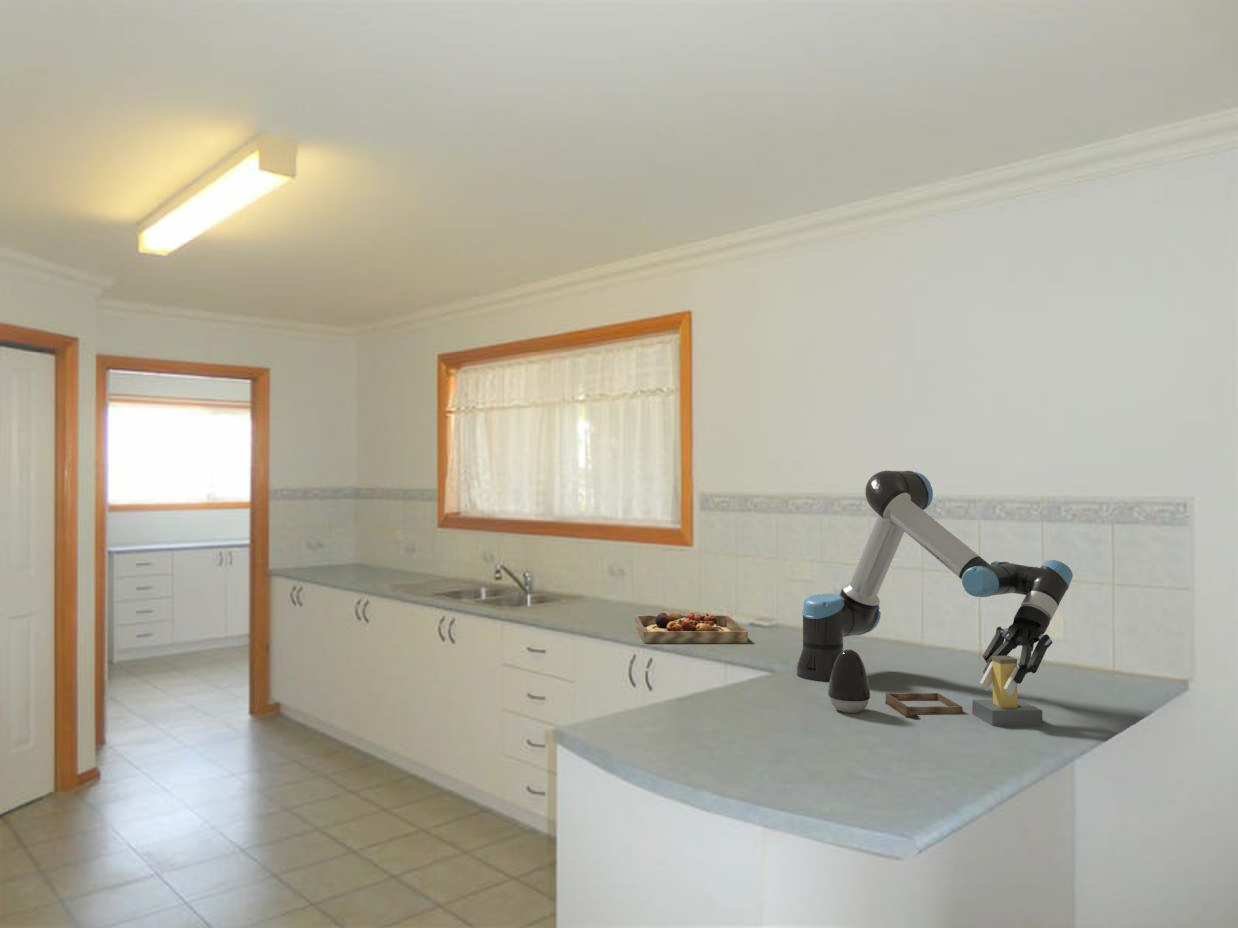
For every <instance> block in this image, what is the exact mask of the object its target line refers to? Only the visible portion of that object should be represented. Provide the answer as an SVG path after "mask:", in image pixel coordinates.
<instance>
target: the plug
mask: <svg viewBox="0 0 1238 928" xmlns="http://www.w3.org/2000/svg"><path fill="white" fill-rule="evenodd" d="M1015 666H1016V667H1018V658H1015V657H1013V656H1010V655H1007V656H992V679H993V681H992V700H993V703H994V704H996V705H998V706H999V707H1001V708H1018V700H1019V699H1018V697H1019V696H1018V685H1017V686H1016V688H1015V690H1014V692H1013V694H1012V696H1008V695H1007V693H1006V692H1005V690H1004V689H1003V688H1004V686H1005V684H1006V682H1007V681H1008V679H1009V677H1010V675H1011V673H1012V671H1013V669H1014V667H1015Z"/></svg>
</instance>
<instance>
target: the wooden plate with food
mask: <svg viewBox="0 0 1238 928" xmlns="http://www.w3.org/2000/svg"><path fill="white" fill-rule="evenodd" d="M657 615H658V616H657V617H656V620H655V622H656V624H655V625H651V626H646V627H645V630H646V631H731V630H730V629H729V628H728V627H725V626H717V625H716V623H717V619H716V617H714V616H715V615H710V614H709V613H706V614H705V615H706V616H703V617H701V616H700V614H694V613H693V612H689V613H688V614H687V617H686V618H683V616H682V614H681V613H680V612H679V611H677V610H674V611H673V612H672V613H670V614H667V613H666V611H661V612H660V613H659V614H657ZM668 615H669V616H668ZM709 615H710V616H709ZM702 620H703V621H702Z"/></svg>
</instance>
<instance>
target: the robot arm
mask: <svg viewBox="0 0 1238 928" xmlns="http://www.w3.org/2000/svg"><path fill="white" fill-rule="evenodd" d="M864 490H865V492H864V493H865V498H866V501H867V504H868V505H869V506H870V508H871V509H872V510H873V512H875V513H876V514H877V517H876V520H875V523H874V525H873V528H872V529H871V533H870V535H869V536H868V539H867V541H866V544H865V546H864V549H863V551H862V554H861V556H860V558H859V561H858V564H857V566H856V568H855V570H854V573H853V575H852V577H851V580H850V582H849V583H846V584H844V585H843V586H842V588H841V590H840V593H839V594H838V593H837V594H836V593H835V594H834V593H822V594H820V593H819V594H813V595H810V596H808V597H806V598H805V599H804V601H803V603H802V604H803V605H802V606H803V608H802V650H801V652H800V656H799V659H798V662H797V664H796V676H799V677H801V678H804V679H808V680H815V681H827V682H830V677H831V673H832V669H833V666H834V663H835V661H836V659H837V657H838V655H839V654H840V653H841V652H842V651H844V638H847V637H854V636H861V635H862V636H863V635H866V634H867V633H870V632H872V631H873V630H875V628H876V627H878V625H879V623H880V620H881V611H880V602H881V600H880V597H879V596H878V595H879V592H880V590H881V587H882V585H883V582H884V580H885V578H886V575H887V573H888V571H889V568H890V566H891V564H892V561H893V560H894V557H895V555H896V553H897V550H898V547H899V546H900V543H901V541H902V538H903V537H904V533H905V534H907V535H908V536H909V537H910V538H912V540H914V541H915V542H916V543H917V544H918V545H920V546H921V547H922V548H923V549H924V550H926V551H927V552H928V553H929V554H930V555H932V556H933V557H934V558H935V559H936V560H937V561H939V562H940V563H941V564H943V566H945V567H946V568H947V569H948V570H950V571H951V572H952V573H953V574H954V575H956V576H957V577H958V578H959V579H960V580H961V584H962V587H963V589H964V591H965V592H966V593H967V594H968V595H970V596H972V597H975V598H978V597H979V598H988V597H992V596H998V595H1007V594H1016V595H1021V596H1024V599H1022V600H1023V601H1022V602H1021V603H1020V606H1019V608H1018V609H1017V612H1016V613H1015V614H1014V616H1013V622H1012V624H1010V625H1009V626H1008V628H1002V627H1001V626H997V627H996V630H995V635H994V636H993V637H992V639H991V641H990V643H989V644H988V646H987V648H986V650H985V651H984V653H983V654H982V658H983V660H984V661H985V662H986V666H985V667H984V669H983V670H982V671H983V672H982V673H983V676H982V678H981V680H980V682H979V685H981V688H983V690H984V691H986V692H987V691H988V690H989V688H990V686H991V685H992V684H993V679H992V656H1009V654H1010V653H1011V652H1012V650H1016V649H1017V648H1018V646H1019V647H1021V652H1020V656H1019V657H1020V658H1019V663H1017V667H1016V666H1015V667H1014V669H1013V671H1012V673H1011V675H1010V677H1009V679H1008V681H1007V682H1006V684H1005V686H1004V688H1003V689H1004V690H1005V692H1006V693H1007V695H1008V696H1012V694H1013V692H1014V690H1015V688H1016V686H1017V687H1018V684H1020V685H1021V683H1022V682H1023V681H1024V678H1025V677H1026V675H1027V674H1028V673H1032V674H1036V673H1037V671H1038V669H1039V667H1040V665H1041V664H1042V661H1043V658H1044V656H1045V654H1046V652H1047V650H1048V649H1049V647H1051V645H1052V644H1053V640H1052V639H1051V637H1050V636H1049V634H1047V633H1046V631H1047V630H1048V627H1049V625H1050V623H1051V621H1052V619H1053V617H1054V616H1055V613H1056V612H1057V610H1058V608H1059V606H1060V603H1061V602H1062V600H1063V598H1064V596H1065V595H1066V592H1067V591H1068V590H1069V588H1070V585H1071V582H1072V579H1073V577H1074V575H1073V572H1072V571H1073V570H1071V568H1070V567H1069V566H1068V565H1067V564H1065V563H1064V562H1062V561H1059V560H1056V559H1049V560H1045V561H1044V562H1043V563H1042V564H1041V566H1040V567H1038V566H1028V565H1022V564H1017V563H1011V562H1008V561H998V560H997V561H992V562H991V563H989V562H987V561H986V560H985V559H983V558H982V557H981V556H980V555H979V554H978V553H976V551H974V550H972V549H971V548H970V547H969V546H967V544H965V543H964V542H963V541H962V540H960V539H959V538H958V537H957V536H955V535H954V534H953V532H951V531H950V530H948V529H947V528H946V527H944V526H943V525H942V524H940V523H939V522H938V521H937V520H935V518H933V517H932V516H931V515H930V514H929V513H927V512H926V511H925V510H926V509H928V507H930V505H931V503H932V501H933V497H934V490H933V487H932V485H931V482H930V481H929V479H928V478H927V476H925V475H924V474H922V473H920V472H917V471H913V470H882V471H879V472H876V473H874V474H873V475H872V476H871V477H870V478H869V480H868V481H867V483H866V485H865V489H864ZM1035 644H1036V645H1035ZM1034 646H1035V648H1034Z"/></svg>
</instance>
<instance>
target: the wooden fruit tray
mask: <svg viewBox="0 0 1238 928" xmlns="http://www.w3.org/2000/svg"><path fill="white" fill-rule="evenodd" d="M658 615H659V614H657V615H655V614H654V615H652V614H651V615H649V614H646V615H640V614H638V615H635V616H634V627H635V629H636V630H637V633H638V635H639V637H640V639H641V642H642V643H643V644H748V643H749V633H748V632H749V631H748V630H746V628H744V627H743V626H742V625H741V624H740V623H738V622H737V621H736V620H734V619H733V618H732V617H731V616H730V615H713V616H714V617H716V619H717V623H716V625H717V626H720V627H726V628H727V629H729V630H730V631H646V627H648V626H651V625H655V624H656V622H655V620H656V617H657V616H658ZM667 615H668V616H669V615H670V614H667ZM681 615H682V614H681ZM687 615H688V614H687ZM687 615H685V614H684V615H682V616H683V618H686V617H687ZM699 615H700V614H699ZM708 615H709V616H711V615H710V614H708ZM700 616H701V617H703V616H706V614H705V615H700ZM702 621H703V620H702Z"/></svg>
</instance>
